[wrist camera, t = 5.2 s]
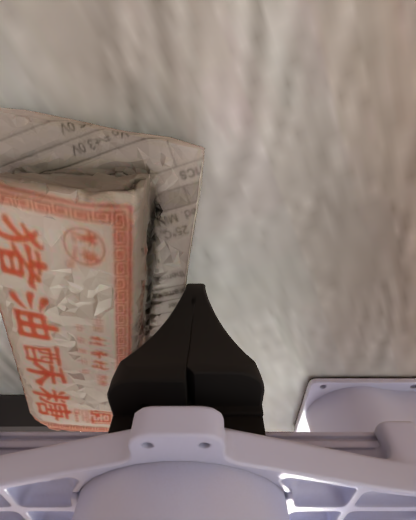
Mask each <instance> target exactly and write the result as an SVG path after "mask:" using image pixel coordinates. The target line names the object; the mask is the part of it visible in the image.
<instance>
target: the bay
mask: <svg viewBox="0 0 416 520" xmlns="http://www.w3.org/2000/svg"><path fill="white" fill-rule="evenodd" d="M0 432H71V431H67V430H60V431H56V430H52V429H49V428H48V427H47V426H46V425H43V424H41V423H40V422H39V421H37V420H35V419H34V417H33V416H32V414H30V412H29V407H28V403H27V401H26V397H25V395H0ZM72 432H80V431H72Z"/></svg>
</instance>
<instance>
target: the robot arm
mask: <svg viewBox="0 0 416 520" xmlns="http://www.w3.org/2000/svg"><path fill="white" fill-rule="evenodd" d="M263 395H264V384H263V380H262V377H261V375H260V372H259V370H258V368H257V365H256V363H255V362H254V361H253V360H252V359H251V358H250V357H249V356H248V355H246V354H245V353H244V352H243V351H242V350H241V349H240V348H239V347H238V346H237V344H236V343H235V342H234V341H233V340H232V339H231V337H230V336H229V335H228V334H227V332H226V331H225V329H224V328H223V326H222V325H221V323H220V322H219V320H218V318H217V317H216V315H215V313H214V311H213V309H212V307H211V304H210V302H209V300H208V297H207V294H206V290H205V285H204V284H187V285H186V288H185V290H184V293H183V295H182V297H181V299H180V300H179V302H178V304H177V305H176V307H175V309H174V310H173V312H172V313H171V314H170V316H169V317H168V319H167V320H166V321H165V323H164V324H163V325H162V326H161V327H160V328H159V330H158V331H157V332H156V333H155V334H154V335H153V336H152V337H151V338H150V339H149V340H148V341H147V342H145V343H144V344H143V345H142V346H141V347H140V348H138V349H137V350H136V351H135V352H133V353H132V354H130V355H129V356H128V357H126V358H125V359H123V360H122V361H121V362H120V363H119V365H118V367H117V369H116V371H115V373H114V375H113V377H112V380H111V383H110V386H109V389H108V392H107V398H108V402H109V405H110V408H111V411H112V414H113V417H112V421H111V424H110V428H109V431H108V432H0V520H416V378H316V379H312V380H310V381H309V383H308V386H307V390H306V393H305V396H304V399H303V402H302V406H301V409H300V412H299V415H298V418H297V421H296V425H295V428H294V432H265V428H264V422H263V409H262V401H263Z"/></svg>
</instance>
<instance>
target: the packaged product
mask: <svg viewBox="0 0 416 520" xmlns="http://www.w3.org/2000/svg"><path fill="white" fill-rule="evenodd" d="M204 150H205V148H203V147H200V146H197V145H194V144H191V143H188V142H184V141H181V140H178V139H175V138H171V137H166V136H158V135H151V134H143V133H136V132H128V131H122V130H117V129H113V128H108V127H104V126H100V125H95V124H91V123H86V122H82V121H77V120H72V119H67V118H62V117H58V116H53V115H48V114H43V113H38V112H33V111H29V110H23V109H10V108H0V312H1V315H2V318H3V321H4V325H5V328H6V332H7V335H8V339H9V342H10V345H11V348H12V352H13V355H14V358H15V361H16V365H17V369H18V372H19V374H20V379H21V382H22V385H23V390H24V394H25V397H26V401H27V403H28V407H29V412H30V414H32V416H33V417H34V419H35V420H37V421H39V422H40V423H41V424H43V425H46V426H47V427H48V428H49V429H52V430H56V431H60V430H67V431H71V432H72V431H81V432H108V431H109V428H110V424H111V421H112V417H113V414H112V411H111V408H110V405H109V402H108V398H107V392H108V389H109V386H110V383H111V380H112V377H113V375H114V373H115V371H116V369H117V367H118V365H119V363H120V362H121V361H122V360H123V359H125V358H126V357H128V356H129V355H130V354H132V353H133V352H135V351H136V350H137V349H138V348H140V347H141V346H142V345H143V344H144V343H145V342H147V341H148V340H149V339H150V338H151V337H152V336H153V335H154V334H155V333H156V332H157V331H158V330H159V328H160V327H161V326H162V325H163V324H164V323H165V321H166V320H167V319H168V317H169V316H170V314H171V313H172V312H173V310H174V309H175V307H176V305H177V304H178V302H179V300H180V299H181V297H182V295H183V293H184V290H185V288H186V281H187V273H188V264H189V258H190V251H191V245H192V239H193V233H194V227H195V221H196V215H197V209H198V203H199V197H200V191H201V183H202V172H203V161H204Z"/></svg>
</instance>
